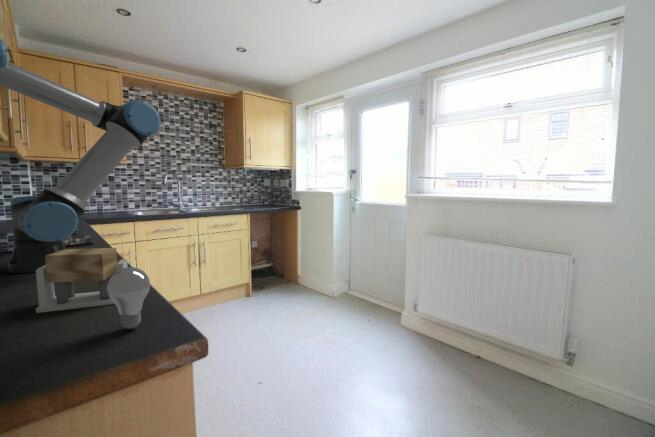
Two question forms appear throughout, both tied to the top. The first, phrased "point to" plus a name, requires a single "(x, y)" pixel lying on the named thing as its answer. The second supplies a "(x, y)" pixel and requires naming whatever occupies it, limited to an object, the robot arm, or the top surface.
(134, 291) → the light bulb
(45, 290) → the peg stand
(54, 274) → the wooden block
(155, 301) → the top surface
